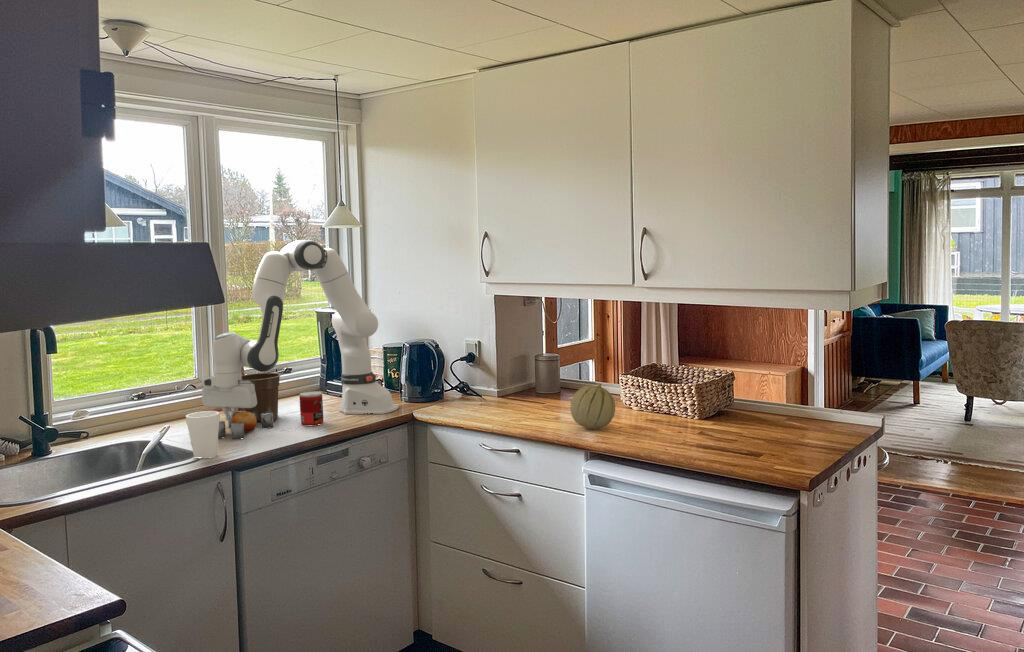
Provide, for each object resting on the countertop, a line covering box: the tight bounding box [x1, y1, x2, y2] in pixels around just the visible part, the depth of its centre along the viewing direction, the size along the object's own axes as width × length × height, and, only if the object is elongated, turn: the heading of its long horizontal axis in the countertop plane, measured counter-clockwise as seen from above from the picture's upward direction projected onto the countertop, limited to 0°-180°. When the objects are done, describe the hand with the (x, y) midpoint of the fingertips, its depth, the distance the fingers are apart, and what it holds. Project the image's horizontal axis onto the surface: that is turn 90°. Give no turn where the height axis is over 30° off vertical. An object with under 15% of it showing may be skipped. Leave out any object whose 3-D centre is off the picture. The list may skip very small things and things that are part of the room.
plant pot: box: [241, 372, 282, 423], centre depth 287 cm, size 16×16×16 cm
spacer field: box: [218, 410, 275, 440], centre depth 268 cm, size 17×20×5 cm
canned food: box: [299, 391, 324, 426], centre depth 277 cm, size 8×8×11 cm
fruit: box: [232, 410, 258, 434], centre depth 268 cm, size 8×8×8 cm
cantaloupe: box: [569, 382, 616, 430], centre depth 257 cm, size 15×15×15 cm
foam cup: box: [185, 410, 221, 459], centre depth 236 cm, size 10×9×13 cm
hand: (230, 419), depth 269 cm, fingers closed
